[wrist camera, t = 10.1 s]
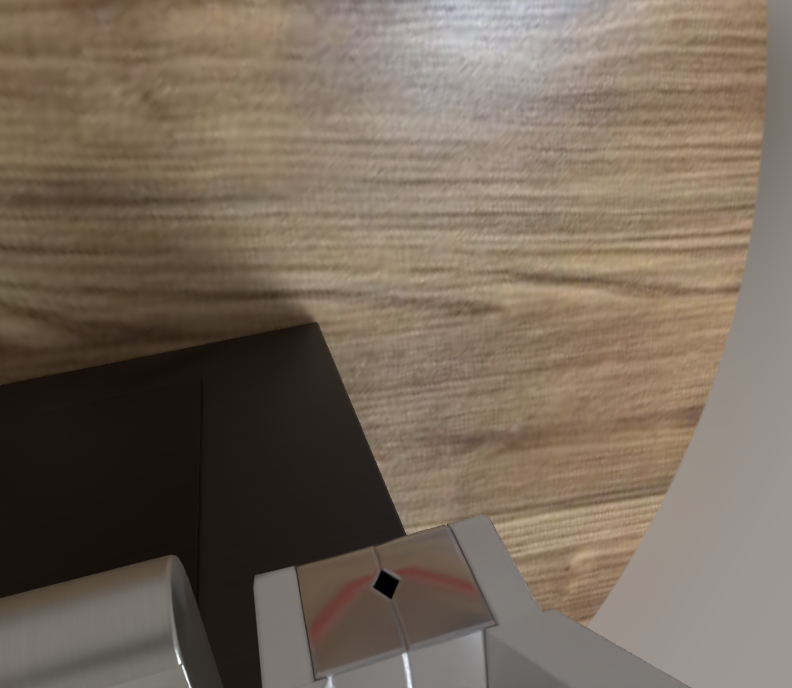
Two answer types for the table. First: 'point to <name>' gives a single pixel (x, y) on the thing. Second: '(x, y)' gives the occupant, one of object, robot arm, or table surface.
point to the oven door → (173, 508)
